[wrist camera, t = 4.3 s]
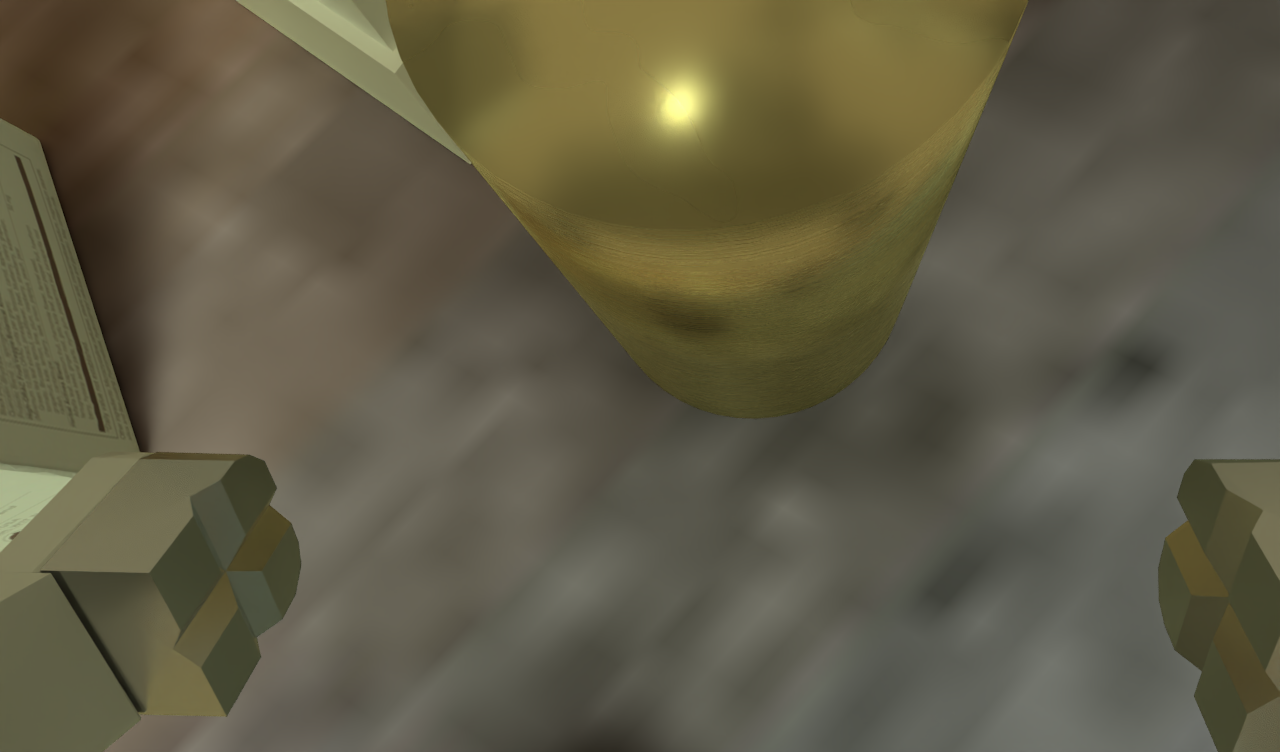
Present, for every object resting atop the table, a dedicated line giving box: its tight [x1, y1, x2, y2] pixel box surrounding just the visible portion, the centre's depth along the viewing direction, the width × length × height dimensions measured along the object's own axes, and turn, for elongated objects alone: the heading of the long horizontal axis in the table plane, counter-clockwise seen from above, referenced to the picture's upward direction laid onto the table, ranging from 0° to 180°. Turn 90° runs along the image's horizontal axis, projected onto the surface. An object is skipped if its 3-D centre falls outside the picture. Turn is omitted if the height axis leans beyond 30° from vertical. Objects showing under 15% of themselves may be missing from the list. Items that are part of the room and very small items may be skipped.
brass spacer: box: [386, 0, 1029, 419], centre depth 14 cm, size 6×6×11 cm
